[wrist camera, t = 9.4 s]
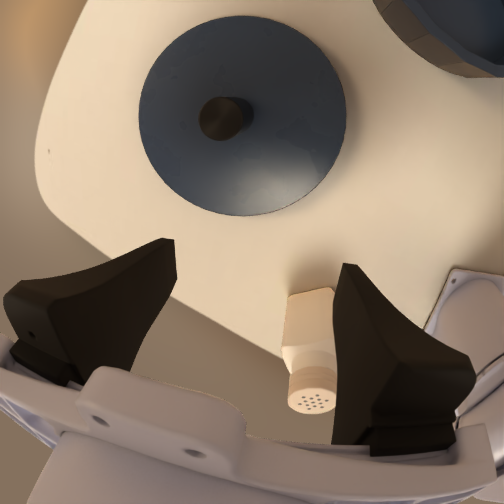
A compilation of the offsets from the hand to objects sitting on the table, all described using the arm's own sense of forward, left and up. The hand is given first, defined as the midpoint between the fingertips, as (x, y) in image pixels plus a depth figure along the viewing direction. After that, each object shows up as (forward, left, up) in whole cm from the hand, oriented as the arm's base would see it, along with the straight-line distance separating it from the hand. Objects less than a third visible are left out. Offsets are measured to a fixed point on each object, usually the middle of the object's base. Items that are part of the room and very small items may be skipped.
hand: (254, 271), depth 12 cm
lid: (+6, +3, -9) cm, 11 cm away
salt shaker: (-9, -4, -10) cm, 14 cm away
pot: (+18, -11, -9) cm, 23 cm away
